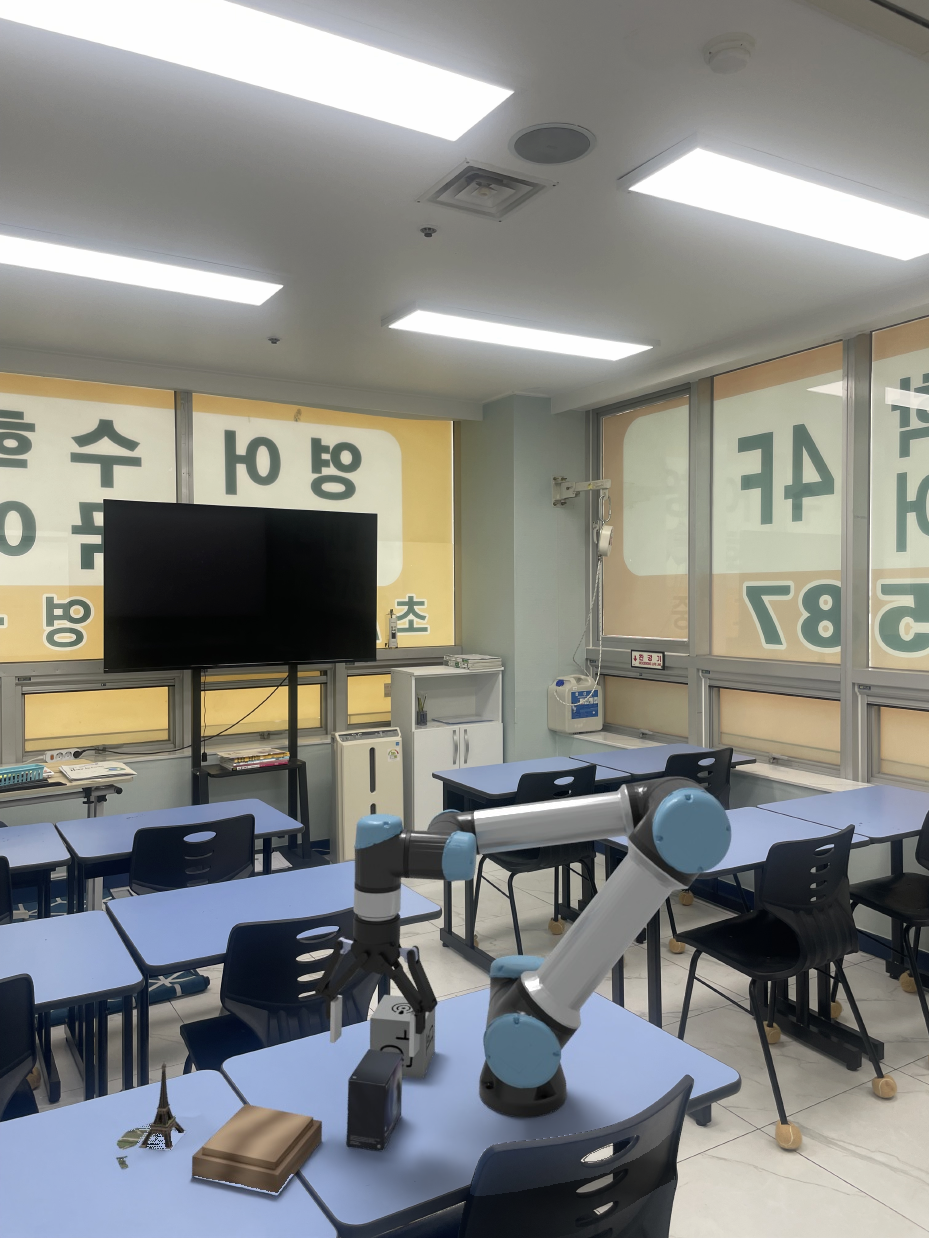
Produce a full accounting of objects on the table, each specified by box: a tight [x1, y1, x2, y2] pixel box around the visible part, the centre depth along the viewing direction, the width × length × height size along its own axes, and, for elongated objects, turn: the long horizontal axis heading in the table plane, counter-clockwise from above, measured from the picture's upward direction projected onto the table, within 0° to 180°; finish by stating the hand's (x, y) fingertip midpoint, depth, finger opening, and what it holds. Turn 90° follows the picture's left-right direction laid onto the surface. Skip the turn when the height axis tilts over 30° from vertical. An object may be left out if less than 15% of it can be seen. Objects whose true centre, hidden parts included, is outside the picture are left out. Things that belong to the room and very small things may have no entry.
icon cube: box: [369, 994, 436, 1079], centre depth 161 cm, size 10×10×10 cm
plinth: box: [191, 1103, 323, 1193], centre depth 132 cm, size 14×14×4 cm
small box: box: [345, 1048, 403, 1152], centre depth 139 cm, size 11×6×10 cm, turn 168°
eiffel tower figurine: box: [115, 1062, 187, 1170], centre depth 137 cm, size 15×10×13 cm
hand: (374, 1045), depth 139 cm, fingers open, 13 cm apart
